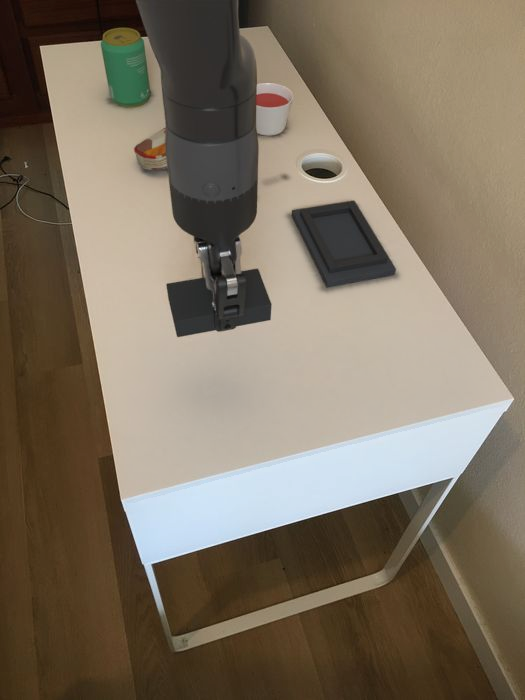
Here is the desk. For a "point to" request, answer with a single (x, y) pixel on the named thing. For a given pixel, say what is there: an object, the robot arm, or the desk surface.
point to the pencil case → (152, 152)
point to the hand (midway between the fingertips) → (219, 306)
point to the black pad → (196, 308)
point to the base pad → (342, 243)
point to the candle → (272, 108)
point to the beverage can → (125, 66)
